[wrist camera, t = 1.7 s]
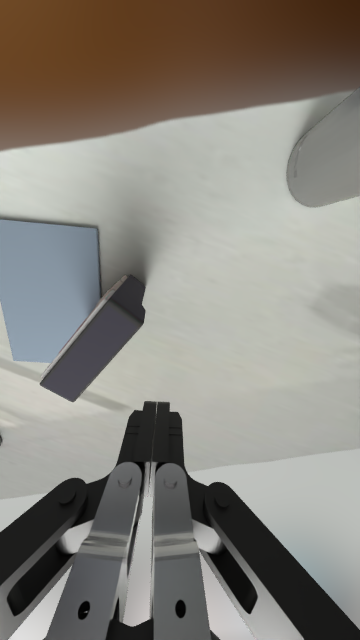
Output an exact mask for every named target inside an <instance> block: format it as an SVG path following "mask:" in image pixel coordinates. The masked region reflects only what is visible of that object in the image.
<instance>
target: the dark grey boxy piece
mask: <svg viewBox="0 0 360 640" xmlns="http://www.w3.org/2000/svg"><path fill="white" fill-rule="evenodd" d="M145 288H146V287H145V286H144V285H143V284H142V283H140V282H139V281H138V280H137V279H136V278H134V277H133V276H132V275H130V276H129V277H127V276H126V275H124V276H123V277H122V278H121V279H120V280H119V281H118V282H116V283H115V285H114V286H113V287H112V288H111V289H110V290H109V289H108V291H107V292H106V293H105V294H104V295H103V297H102V298H101V299H100V300H99V302H98V303H97V304H96V307H95V309H94V310H93V311H92V312H91V314H90V315H89V316H88V317H87V318H86V319H85V320H84V321H83V323H82V324H81V325H80V326H79V328H78V329H77V330H76V332H75V333H74V335H73V336H72V337H71V338H70V339H69V341H68V342H67V343H66V344H65V346H64V347H63V348H62V349H61V351H60V352H59V354H58V355H57V356H56V358H55V359H54V360H53V361H52V363H51V364H50V365H49V366H48V368H47V369H46V370H45V371H44V372H43V374H42V375H41V378H43V380H42V381H41V383H40V385H41V386H42V387H44V388H46V389H48V390H50V391H52V392H54V393H56V394H57V395H59V396H61V397H63V398H65V399H67V400H69V401H71V402H75V401H76V399H77V398H78V397H79V396H80V395H81V394H82V393H83V392H84V390H85V389H86V388H87V387H88V386H89V385H90V384H91V383H92V381H93V380H94V379H95V378H96V377H97V376H98V375H99V374H100V372H101V371H102V370H103V369H104V368H105V367H106V366H107V365H108V363H109V362H110V361H111V360H112V359H113V358H114V357H115V356H116V354H117V353H118V352H119V351H120V350H121V349H122V348H123V347H124V345H125V344H126V343H127V342H128V341H129V340H130V339H131V338H132V336H133V335H134V334H135V333H136V332H137V331H138V330H139V328H140V327H141V326H142V325H143V323H144V318H145V309H144V307H143V306H142V301H143V297H144V292H145Z"/></svg>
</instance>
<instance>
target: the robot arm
mask: <svg viewBox="0 0 360 640" xmlns="http://www.w3.org/2000/svg"><path fill="white" fill-rule="evenodd" d="M287 182H288V186H289V190H290V192H291V194H292V196H293V197H294V198H295V199H296V200H297V201H298V202H299V203H301V204H302V205H305V206H307V207H321V206H325V205H328V204H332V203H335V202H339V201H343V200H346V199H350V198H353V197H357V196H360V87H359V88H358V89H357V90H355V91H354V92H353V93H352V94H351V95H350V96H349V97H347V98H346V99H345V100H344V101H343V102H342V103H340V104H339V105H338V106H337V107H336V108H335V109H334V110H332V111H331V112H330V113H329V114H328V115H327V116H325V117H324V118H323V119H322V120H321V121H320V122H318V123H317V124H316V125H315V126H314V127H313V128H312V129H310V130H309V131H308V132H307V133H306V134H305V135H304V136H303V137H302V138H301V139H300V140H299V142H298V143H297V144H296V146H295V148H294V150H293V152H292V154H291V156H290V159H289V162H288V168H287ZM156 406H157V414H156ZM169 410H170V402H158V404H157V402H152V401H145V402H144V407H143V411H139V410H134V412H133V413H132V414H131V415H130V417H129V419H128V423H127V427H126V431H125V435H124V438H123V442H122V446H121V450H120V454H119V458H118V461H117V464H116V466H115V468H114V469H113V470H112V472H111V473H110V474H109V475H107V476H106V477H104V478H102V479H100V480H97V481H94V482H91V483H88V484H86V483H85V482H84V481H83V480H82V479H80V478H71V479H68V480H65V481H64V482H62V483H61V484H59V485H58V486H57V487H55V488H54V489H53V490H52V491H51V492H49V493H48V494H47V495H46V496H44V497H43V498H42V499H41V500H39V501H38V502H37V503H36V504H35V505H33V506H32V507H31V508H30V509H29V510H27V511H26V512H25V513H24V514H22V515H21V516H20V517H19V518H17V519H16V520H15V521H14V522H13V523H11V524H10V525H9V526H8V527H6V528H5V529H4V530H3V531H1V532H0V640H8V639H9V638H10V637H11V636H12V634H13V633H14V632H15V631H16V630H17V628H18V627H19V626H20V625H21V624H22V623H23V621H24V620H25V619H26V618H27V617H28V616H29V615H30V613H31V612H32V611H33V610H34V609H35V607H36V606H37V605H38V604H39V603H40V602H41V600H42V599H43V598H44V597H45V596H46V595H47V593H48V592H49V591H50V590H51V589H52V588H53V587H54V585H55V584H56V583H57V582H58V581H59V580H60V578H61V577H62V576H63V575H64V574H65V573H66V571H67V570H68V569H69V568H70V567H71V566H72V568H71V571H70V573H69V577H68V579H67V581H66V584H65V587H64V590H63V593H62V595H61V598H60V600H59V603H58V606H57V608H56V611H55V614H54V617H53V619H52V622H51V625H50V627H49V630H48V633H47V636H46V637H45V638H44V639H43V640H220V639H219V638H218V637H217V636H216V635H215V634H214V633H213V632H212V631H211V630H210V627H209V620H208V613H207V605H206V598H205V591H204V584H203V576H202V569H201V562H200V554H199V551H200V552H201V554H202V556H203V557H204V559H205V561H206V562H207V564H208V565H209V567H210V568H211V570H212V572H213V573H214V574H215V576H216V578H217V580H218V581H219V583H220V584H221V586H222V587H223V589H224V591H225V592H226V594H227V595H228V597H229V599H230V600H231V602H232V603H233V605H234V607H235V608H236V609H237V611H238V613H239V614H240V616H241V618H242V619H243V621H244V623H245V624H246V626H247V627H248V629H249V630H250V632H251V634H252V635H253V637H254V638H255V640H360V630H359V629H358V628H357V626H356V625H355V624H354V623H353V622H352V621H351V620H350V619H349V618H348V616H347V615H345V613H344V612H343V611H342V610H341V609H340V608H339V607H338V606H337V604H335V602H334V601H333V600H332V599H331V598H330V597H329V596H328V594H327V593H326V592H325V591H324V590H323V589H322V588H321V587H320V586H319V585H318V583H316V581H315V580H314V579H313V578H312V577H311V576H310V575H309V574H308V572H307V571H306V570H305V569H304V568H303V567H302V566H301V565H300V564H299V562H298V561H297V560H296V559H295V558H294V557H293V556H292V555H291V554H290V553H289V551H288V550H287V549H286V548H285V547H284V546H283V545H282V544H281V543H280V542H279V540H278V539H277V538H276V537H275V536H274V535H273V534H272V533H271V532H270V531H269V529H268V528H267V527H266V526H265V525H264V524H263V523H262V522H261V521H260V520H259V518H258V517H257V516H256V515H255V514H254V513H253V512H252V511H251V510H250V509H249V507H248V506H247V505H246V504H245V503H244V502H243V501H242V500H241V499H240V497H238V495H237V494H236V493H235V492H234V491H233V490H232V489H231V488H230V487H229V486H228V485H226V484H224V483H221V482H214V483H212V484H210V485H209V486H206V485H204V484H201V483H199V482H197V481H195V480H193V479H192V478H191V477H190V476H189V475H188V473H187V471H186V469H185V466H184V452H183V432H182V419H181V417H180V415H179V413H178V412H169ZM155 423H156V424H155ZM150 474H151V482H150ZM149 484H150V497H153V512H152V546H151V547H152V548H151V590H150V620H147V621H145V622H143V623H141V624H139V625H137V626H134V627H130V626H128V625H125V624H124V623H123V618H124V612H125V606H126V599H127V591H128V584H129V577H130V572H131V566H132V561H133V555H134V550H135V544H136V539H137V533H138V528H139V522H140V516H141V513H142V506H143V498H144V497H148V493H149ZM198 548H199V549H198ZM72 564H73V565H72Z"/></svg>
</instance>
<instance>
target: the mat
mask: <svg viewBox="0 0 360 640" xmlns="http://www.w3.org/2000/svg"><path fill="white" fill-rule="evenodd" d="M100 299H101V287H100V265H99V244H98V229H95V228H85V227H74V226H64V225H53V224H43V223H32V222H22V221H11V220H1V219H0V302H1V306H2V311H3V315H4V320H5V324H6V329H7V333H8V338H9V342H10V347H11V351H12V356H13V360H14V361H27V362H45V363H52V361H53V360H54V359H55V358H56V356H57V355H58V354H59V352H60V351H61V349H62V348H63V347H64V346H65V344H66V343H67V342H68V341H69V339H70V338H71V337H72V336H73V335H74V333H75V332H76V330H77V329H78V328H79V326H80V325H81V324H82V323H83V321H84V320H85V319H86V318H87V317H88V316H89V315H90V314H91V312H92V311H93V310H94V309H95V307H96V304H97V303H98V302H99V300H100Z"/></svg>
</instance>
